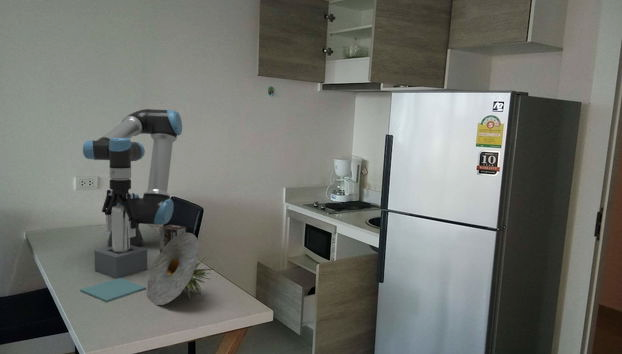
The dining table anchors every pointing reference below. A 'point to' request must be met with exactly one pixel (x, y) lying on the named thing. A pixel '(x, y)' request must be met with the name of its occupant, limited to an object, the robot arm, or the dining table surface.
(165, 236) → the coffee box
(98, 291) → the teal mat
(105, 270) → the grey hollow square block
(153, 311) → the dining table surface
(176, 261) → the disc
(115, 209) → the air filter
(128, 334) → the dining table surface
